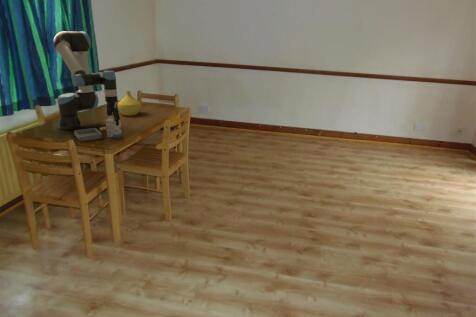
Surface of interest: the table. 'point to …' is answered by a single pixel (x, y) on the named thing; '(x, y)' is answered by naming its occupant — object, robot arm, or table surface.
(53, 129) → the table surface
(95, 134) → the tray
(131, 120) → the table surface
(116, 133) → the ink box
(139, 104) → the yellow rounded bulb
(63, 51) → the robot arm
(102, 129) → the puller tool
